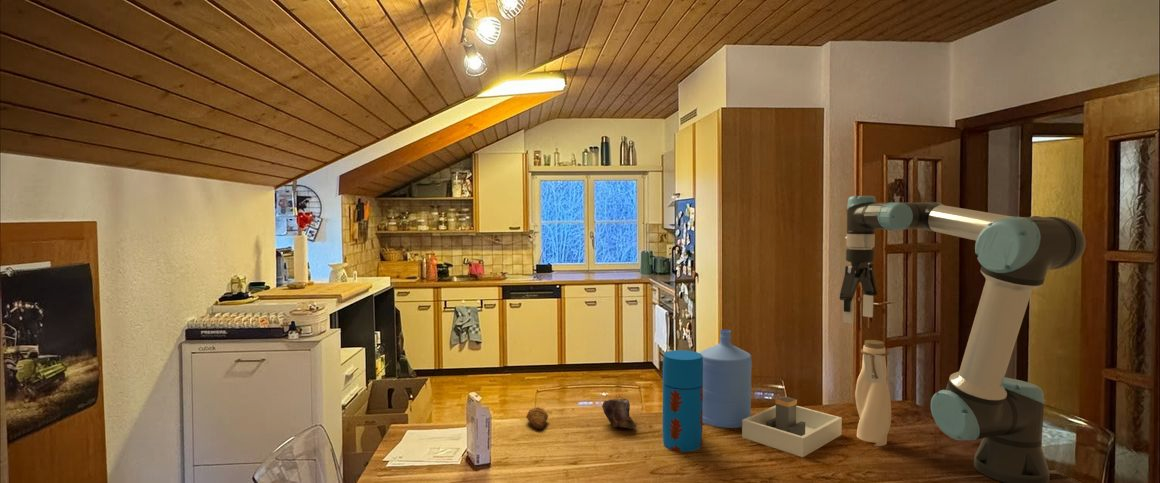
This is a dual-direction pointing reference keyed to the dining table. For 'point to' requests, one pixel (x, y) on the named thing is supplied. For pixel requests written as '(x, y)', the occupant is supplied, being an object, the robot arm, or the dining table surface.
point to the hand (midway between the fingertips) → (858, 319)
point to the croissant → (537, 418)
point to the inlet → (795, 429)
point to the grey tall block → (785, 413)
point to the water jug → (726, 384)
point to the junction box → (816, 433)
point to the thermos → (682, 400)
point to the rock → (618, 413)
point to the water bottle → (873, 395)
